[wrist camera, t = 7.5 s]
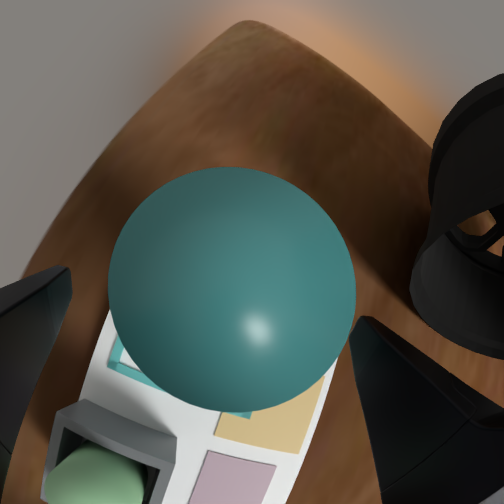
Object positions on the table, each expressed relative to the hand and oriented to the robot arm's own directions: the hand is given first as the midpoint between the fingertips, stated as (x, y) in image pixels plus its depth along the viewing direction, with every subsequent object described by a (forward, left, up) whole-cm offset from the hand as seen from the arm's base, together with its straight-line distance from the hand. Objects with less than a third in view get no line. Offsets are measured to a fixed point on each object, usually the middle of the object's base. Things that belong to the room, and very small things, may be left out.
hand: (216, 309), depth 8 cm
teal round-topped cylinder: (0, 0, -8) cm, 8 cm away
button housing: (-9, +2, -8) cm, 12 cm away
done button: (-9, +2, -6) cm, 11 cm away
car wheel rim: (+9, -18, -9) cm, 23 cm away
